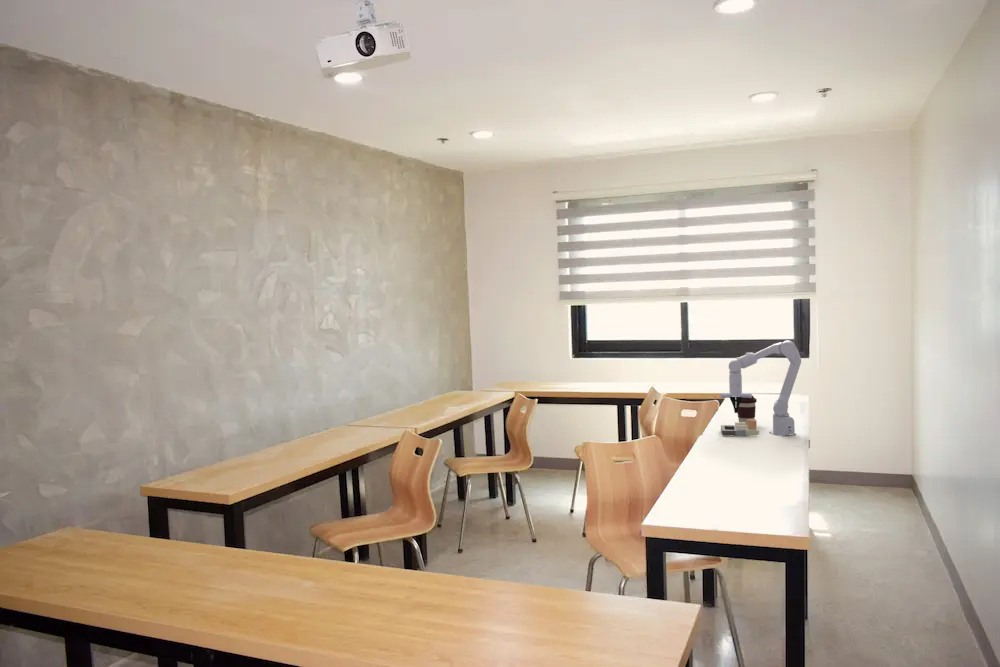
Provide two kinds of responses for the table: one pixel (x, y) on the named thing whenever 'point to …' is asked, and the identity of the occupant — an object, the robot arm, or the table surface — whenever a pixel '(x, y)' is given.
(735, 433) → the gray recessed tray
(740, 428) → the channel walls
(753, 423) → the terracotta block
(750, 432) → the pad
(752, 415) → the coffee cup
